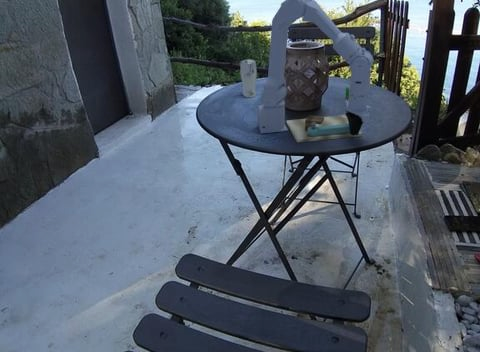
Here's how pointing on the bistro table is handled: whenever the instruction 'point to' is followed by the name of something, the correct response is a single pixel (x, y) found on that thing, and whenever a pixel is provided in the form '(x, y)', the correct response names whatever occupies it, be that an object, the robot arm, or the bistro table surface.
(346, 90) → the green block
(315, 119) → the walnut keeper
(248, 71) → the beer glass
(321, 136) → the birch plate
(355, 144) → the bistro table surface
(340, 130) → the teal link
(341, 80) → the bistro table surface
